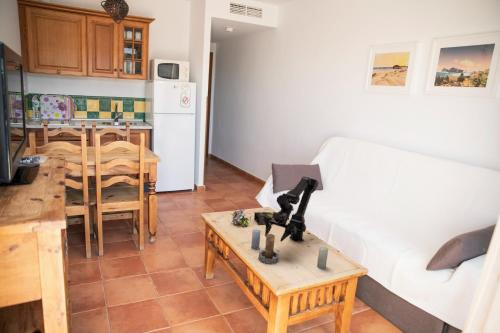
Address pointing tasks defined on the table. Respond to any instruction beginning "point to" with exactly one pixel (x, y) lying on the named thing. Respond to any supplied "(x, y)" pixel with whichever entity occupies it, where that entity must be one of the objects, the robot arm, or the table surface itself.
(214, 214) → the table surface
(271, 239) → the walnut peg
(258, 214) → the dark olive boxy piece
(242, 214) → the green succulent plant
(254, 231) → the slate-blue peg
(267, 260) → the steel ring
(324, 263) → the grey-green peg
